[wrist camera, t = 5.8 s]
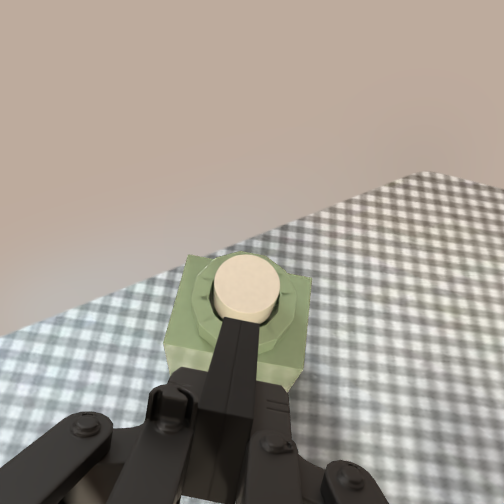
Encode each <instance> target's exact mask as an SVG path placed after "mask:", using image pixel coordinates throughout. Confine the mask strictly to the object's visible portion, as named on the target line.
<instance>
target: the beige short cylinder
mask: <svg viewBox="0 0 504 504" xmlns="http://www.w3.org/2000/svg"><path fill="white" fill-rule="evenodd" d="M279 291H280V280H279V276H278V274H277V272H276V270H275V269H274V267H273V266H272V265H271V264H270V263H269V262H267V261H266V260H264V259H262V258H260V257H258V256H254V255H246V254H244V255H237V256H234V257H231V258H229V259H228V260H226V261H225V262H224V263H222V265H221V266H220V267H219V268H218V270H217V272H216V275H215V279H214V293H213V302H214V307H215V309H216V311H217V313H218V315H219V316H220V317H221V318H222V319H223V318H224V317H229V318H234V319H239V320H244V321H249V322H254V323H258V324H261V323H263V322H264V321H266V320H267V319H268V318H269V316H270V315H271V313H272V312H273V309H274V306H275V303H276V300H277V297H278V295H279Z"/></svg>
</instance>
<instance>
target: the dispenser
mask: <svg viewBox="0 0 504 504" xmlns="http://www.w3.org/2000/svg"><path fill="white" fill-rule="evenodd" d="M244 254H246V255H254V256H258V257H260V258H262V259H264V260H266V261H267V262H269V263H270V264H271V265H272V266H273V267H274V269H275V270H276V272H277V274H278V276H279V280H280V291H279V295H278V297H277V300H276V303H275V306H274V309H273V312H272V313H271V315H270V316H269V318H268V319H267V320H266V321H264V322H263V323H261V324H260V330H259V346H258V361H257V376H256V380H257V381H262V382H267V383H272V384H277V385H282V386H283V388H284V389H285V391H286V392H287V393H288V391H289V390H290V388H291V387H292V385H293V384H294V383H295V381H296V380H297V378H298V377H299V375H300V374H301V372H302V371H303V368H304V357H305V347H306V337H307V326H308V316H309V306H310V295H311V285H312V278H310V277H305V276H299V275H294V274H289V273H287V272H286V271H285V270H284V269H283V268H281V267H280V266H279V265H277V264H276V263H274V262H273V261H272V260H270V259H269V258H268V257H266V256H264V255H259V254H253V253H248V252H243V251H239V252H235V253H231V254H228V255H224V256H220V257H216V258H215V259H210V258H205V257H199V256H194V255H188V257H187V260H186V264H185V267H184V271H183V275H182V278H181V282H180V285H179V289H178V292H177V296H176V299H175V303H174V306H173V310H172V314H171V317H170V321H169V324H168V328H167V331H166V335H165V338H164V342H163V345H164V350H165V354H166V359H167V364H168V368H169V373H170V376H171V374H172V372H174V371H175V370H177V369H178V368H180V367H181V366H182V367H187V368H192V369H197V370H202V371H207V372H208V370H209V366H210V363H211V359H212V356H213V353H214V349H215V346H216V342H217V339H218V335H219V332H220V329H221V325H222V322H223V319H222V318H221V317H220V316H219V315H218V313H217V311H216V309H215V307H214V302H213V293H214V279H215V275H216V272H217V270H218V268H219V267H220V266H221V265H222V263H224V262H225V261H226V260H228V259H229V258H231V257H234V256H237V255H244Z"/></svg>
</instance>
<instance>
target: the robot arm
mask: <svg viewBox="0 0 504 504" xmlns="http://www.w3.org/2000/svg"><path fill="white" fill-rule="evenodd" d="M259 330H260V324H258V323H254V322H249V321H244V320H239V319H234V318H229V317H224V318H223V322H222V325H221V329H220V332H219V335H218V339H217V342H216V346H215V349H214V353H213V356H212V359H211V363H210V366H209V370H208V372H207V371H202V370H197V369H192V368H187V367H182V366H181V367H180V368H178V369H177V370H175V371H174V372H172V374H171V376H170V378H169V381H168V383H167V384H166V385H160V386H158V387H155V388H154V389H153V390H152V391H151V392H150V393H149V399H148V405H147V411H146V418H145V421H144V424H142V425H140V426H136V427H132V428H117V429H113V423H112V422H111V420H110V419H109V418H108V417H107V416H105V415H103V414H101V413H96V412H79V413H75V414H72V415H70V416H68V417H66V418H64V419H63V420H62V421H60V422H59V423H58V424H56V425H55V426H54V427H53V428H51V429H50V430H49V431H47V432H46V433H45V434H44V435H42V436H41V437H40V438H38V439H37V440H36V441H35V442H33V443H32V444H31V445H29V446H28V447H27V448H26V449H24V450H23V451H22V452H20V453H19V454H18V455H17V456H15V457H14V458H13V459H11V460H10V461H9V462H7V463H6V464H5V465H4V466H2V467H1V468H0V504H180V499H181V495H184V496H189V497H194V498H198V499H203V500H208V501H213V502H218V503H223V504H235V501H236V504H389V503H388V501H387V500H386V498H385V496H384V495H383V493H382V491H381V490H380V488H379V486H378V485H377V483H376V481H375V480H374V478H373V477H372V476H371V475H370V474H369V472H368V471H366V470H365V469H363V468H362V467H361V466H359V465H357V464H354V463H352V462H349V461H343V460H338V461H332V462H331V463H329V464H328V465H327V467H326V469H325V470H324V469H322V468H320V467H318V466H315V465H313V464H311V463H309V462H308V461H306V460H305V459H303V458H302V457H301V456H300V455H299V454H298V449H297V446H296V444H295V443H294V441H293V440H292V437H291V423H290V414H289V413H290V409H289V395H288V393H287V392H286V391H285V389H284V388H283V386H282V385H277V384H272V383H267V382H262V381H257V380H256V376H257V361H258V346H259Z"/></svg>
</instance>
